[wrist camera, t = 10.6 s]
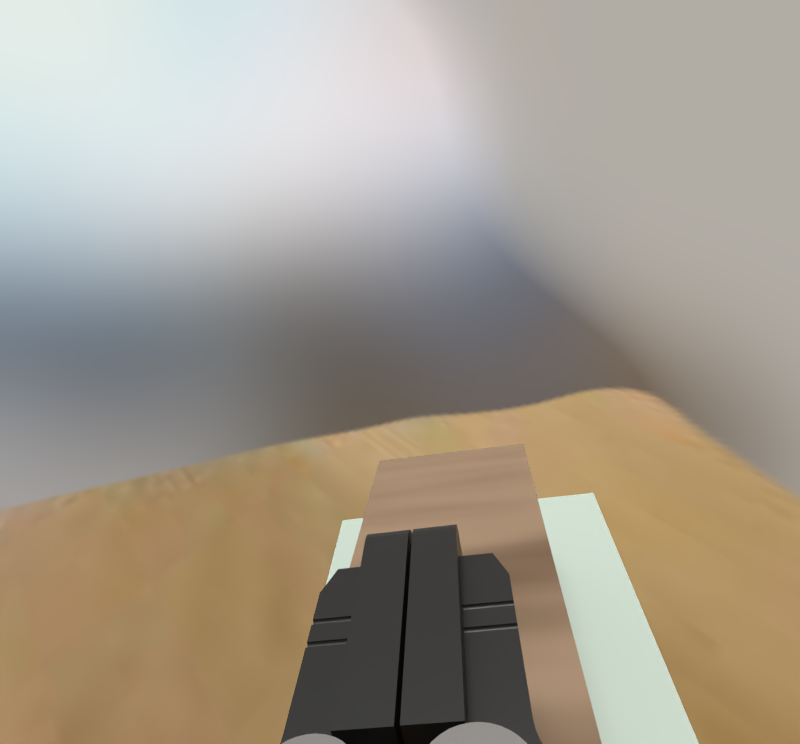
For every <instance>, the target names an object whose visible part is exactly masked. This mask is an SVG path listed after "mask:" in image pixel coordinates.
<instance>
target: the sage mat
mask: <svg viewBox="0 0 800 744" xmlns="http://www.w3.org/2000/svg"><path fill="white" fill-rule="evenodd" d="M538 502H539V506H540V510H541V514H542V518H543V521H544V525H545V529H546V533H547V537H548V541H549V544H550V548H551V552H552V556H553V560H554V563H555V567H556V571H557V575H558V579H559V583H560V586H561V590H562V594H563V598H564V602H565V605H566V609H567V613H568V617H569V621H570V625H571V628H572V632H573V636H574V640H575V644H576V647H577V651H578V655H579V659H580V663H581V667H582V670H583V674H584V678H585V682H586V686H587V689H588V693H589V697H590V701H591V705H592V708H593V712H594V716H595V720H596V724H597V728H598V731H599V735H600V739H601V743H602V744H699V743H698V741H697V738H696V736H695V733H694V731H693V729H692V726H691V724H690V722H689V719H688V717H687V715H686V712H685V710H684V707H683V705H682V703H681V700H680V698H679V696H678V693H677V691H676V688H675V686H674V684H673V681H672V679H671V677H670V674H669V672H668V669H667V667H666V665H665V662H664V660H663V658H662V655H661V653H660V650H659V648H658V646H657V643H656V641H655V639H654V636H653V634H652V631H651V629H650V627H649V624H648V622H647V620H646V617H645V615H644V612H643V610H642V608H641V605H640V603H639V601H638V598H637V596H636V593H635V591H634V589H633V586H632V584H631V582H630V579H629V577H628V575H627V572H626V570H625V567H624V565H623V563H622V560H621V558H620V556H619V553H618V551H617V548H616V546H615V544H614V541H613V539H612V537H611V534H610V532H609V529H608V527H607V525H606V522H605V520H604V518H603V515H602V513H601V510H600V508H599V506H598V503H597V501H596V499H595V496H594V494H593V493H587V494H578V495H569V496H560V497H551V498H542V499H538ZM362 522H363V518H360V519H351V520H343V522H342V525H341V529H340V533H339V537H338V541H337V545H336V548H335V552H334V556H333V560H332V564H331V567H330V571H329V575H328V579H327V583H328V582H329V580H330V579H331V578H332V577H333V575H334V574H335V573H336V571H337V570H338V569H344V568H350V564H351V561H352V557H353V553H354V550H355V546H356V543H357V539H358V536H359V532H360V529H361V525H362ZM327 583H326V584H327Z"/></svg>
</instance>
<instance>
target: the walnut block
mask: <svg viewBox="0 0 800 744" xmlns="http://www.w3.org/2000/svg"><path fill="white" fill-rule="evenodd" d="M455 524H457V527H458V532H459V538H460V544H461V550H462V556H466V555H476V554H485V553H493V554H494V555H495V557H496V558H497V559H498V560H499V562H500V563H501V564H502V565H503V567H504V568H505V569H506V570H507V572H508V573H509V575H510V581H511V587H512V594H513V600H514V606H515V612H516V618H517V624H518V630H519V636H520V642H521V648H522V654H523V661H524V667H525V673H526V679H527V685H528V691H529V697H530V703H531V709H532V715H533V721H534V725H535V729H536V731H537V734H538V736H539V738H540V740H541V742H542V744H602V743H601V739H600V735H599V731H598V728H597V724H596V720H595V716H594V712H593V708H592V705H591V701H590V697H589V693H588V689H587V686H586V682H585V678H584V674H583V670H582V667H581V663H580V659H579V655H578V651H577V647H576V644H575V640H574V636H573V632H572V628H571V625H570V621H569V617H568V613H567V609H566V605H565V602H564V598H563V594H562V590H561V586H560V583H559V579H558V575H557V571H556V567H555V563H554V560H553V556H552V552H551V548H550V544H549V541H548V537H547V533H546V529H545V525H544V521H543V518H542V514H541V510H540V506H539V502H538V499H537V495H536V491H535V487H534V483H533V479H532V476H531V472H530V468H529V464H528V460H527V457H526V453H525V449H524V445H523V444H518V445H510V446H501V447H493V448H484V449H476V450H467V451H459V452H450V453H442V454H433V455H425V456H416V457H408V458H399V459H391V460H382V461H380V462H379V465H378V469H377V472H376V476H375V479H374V483H373V486H372V490H371V493H370V497H369V501H368V504H367V508H366V511H365V515H364V518H363V522H362V525H361V529H360V532H359V536H358V539H357V543H356V546H355V550H354V553H353V557H352V561H351V564H350V568H353V567H360V566H361V560H362V555H363V549H364V544H365V539H366V536H367V535H368V534H376V533H385V532H394V531H403V530H411V531H412V532H413V529H419V528H428V527H437V526H446V525H455Z"/></svg>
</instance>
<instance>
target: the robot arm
mask: <svg viewBox="0 0 800 744" xmlns="http://www.w3.org/2000/svg"><path fill="white" fill-rule="evenodd" d="M307 643H308V647H307V648H306V649H305V653H304V657H303V660H302V664H301V668H300V672H299V676H298V680H297V683H296V687H295V691H294V695H293V699H292V703H291V707H290V710H289V714H288V718H287V722H286V726H285V730H284V734H283V737H282V740H281V743H280V744H542V742H541V740H540V738H539V736H538V734H537V731H536V729H535V725H534V721H533V715H532V709H531V703H530V697H529V691H528V685H527V679H526V673H525V667H524V661H523V654H522V648H521V642H520V636H519V630H518V624H517V618H516V612H515V606H514V600H513V594H512V587H511V581H510V575H509V573H508V572H507V570H506V569H505V568H504V567H503V565H502V564H501V563H500V562H499V560H498V559H497V558H496V557H495V555H494V554H493V553H485V554H476V555H466V556H462V550H461V544H460V538H459V532H458V527H457V524H455V525H446V526H437V527H428V528H419V529H413V532H412V531H411V530H403V531H394V532H385V533H376V534H368V535H367V536H366V539H365V544H364V549H363V555H362V560H361V566H360V567H353V568H344V569H338V570H337V571H336V573H335V574H334V575H333V577H332V578H331V579H330V580H329V582H328V583H327V584H326V586H325V587H324V588H323V590H322V591H321V592H320V595H319V599H318V603H317V606H316V610H315V614H314V618H313V625H312V626H311V630H310V633H309V637H308V641H307Z"/></svg>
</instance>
